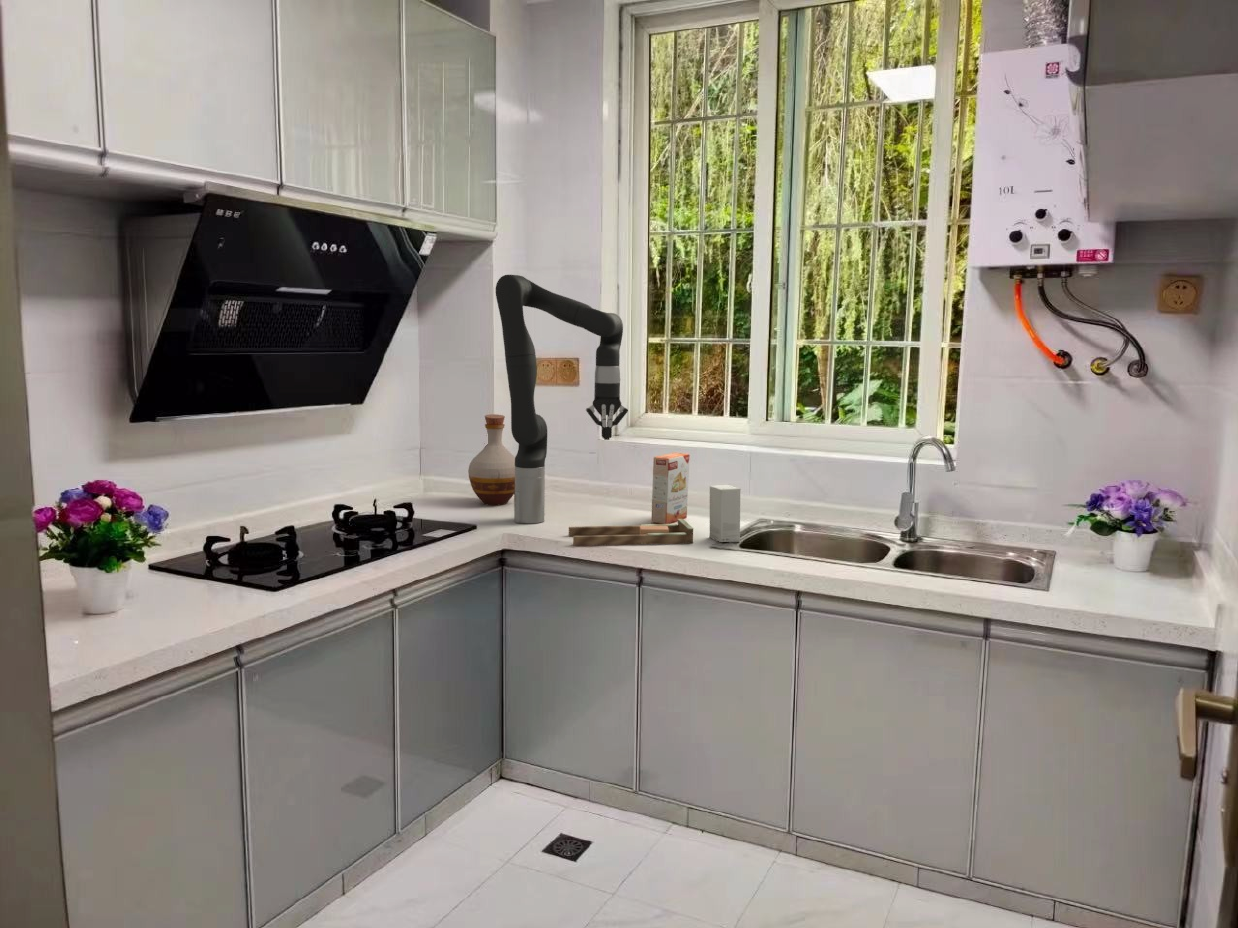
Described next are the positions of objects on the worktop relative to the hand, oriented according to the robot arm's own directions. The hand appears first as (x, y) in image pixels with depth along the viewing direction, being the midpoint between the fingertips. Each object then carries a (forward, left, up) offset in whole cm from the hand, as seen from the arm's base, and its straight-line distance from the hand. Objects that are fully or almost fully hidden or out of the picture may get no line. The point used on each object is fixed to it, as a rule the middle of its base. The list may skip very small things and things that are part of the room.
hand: (606, 439), depth 277 cm
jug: (-32, +42, -27) cm, 59 cm away
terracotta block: (+12, -17, -27) cm, 34 cm away
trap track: (+5, -15, -27) cm, 31 cm away
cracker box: (+22, +9, -27) cm, 36 cm away
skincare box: (+32, -18, -27) cm, 46 cm away
